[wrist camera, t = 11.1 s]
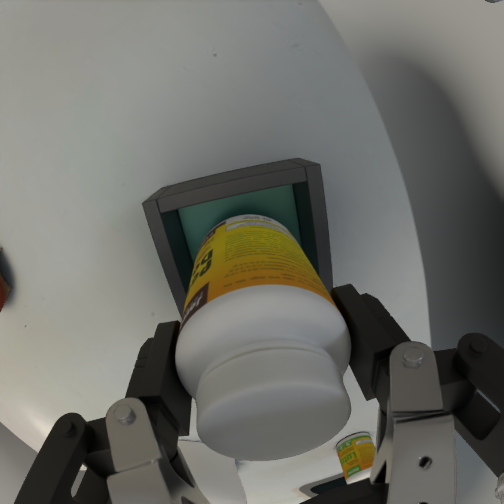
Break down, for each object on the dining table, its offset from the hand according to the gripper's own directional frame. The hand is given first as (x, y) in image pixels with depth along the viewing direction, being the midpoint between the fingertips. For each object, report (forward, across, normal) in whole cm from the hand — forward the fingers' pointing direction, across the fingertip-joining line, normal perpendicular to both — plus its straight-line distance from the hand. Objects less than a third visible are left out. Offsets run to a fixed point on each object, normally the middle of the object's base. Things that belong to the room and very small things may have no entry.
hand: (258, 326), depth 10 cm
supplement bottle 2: (+10, -9, +34) cm, 37 cm away
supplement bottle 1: (+6, 0, 0) cm, 6 cm away
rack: (+10, 0, +8) cm, 13 cm away
